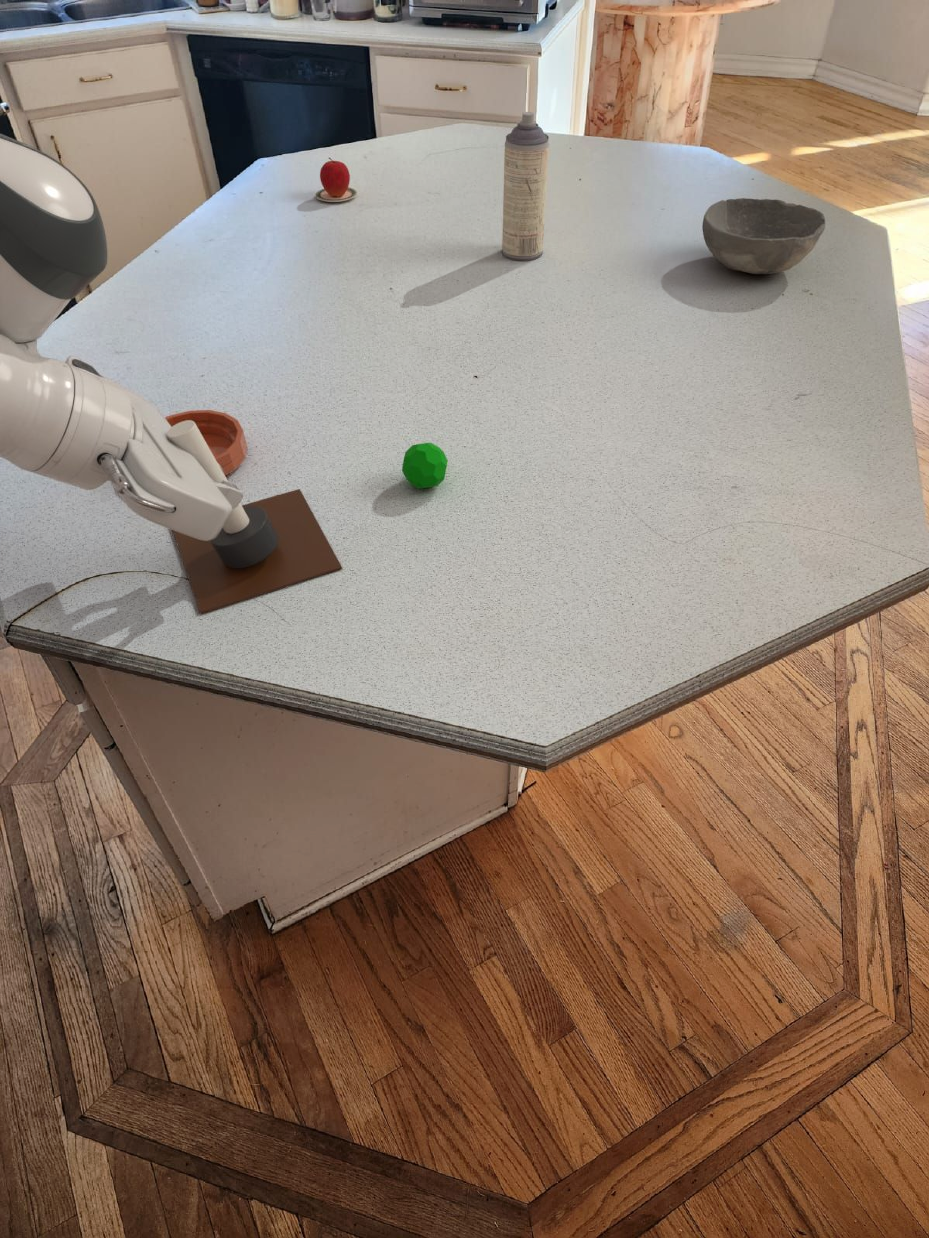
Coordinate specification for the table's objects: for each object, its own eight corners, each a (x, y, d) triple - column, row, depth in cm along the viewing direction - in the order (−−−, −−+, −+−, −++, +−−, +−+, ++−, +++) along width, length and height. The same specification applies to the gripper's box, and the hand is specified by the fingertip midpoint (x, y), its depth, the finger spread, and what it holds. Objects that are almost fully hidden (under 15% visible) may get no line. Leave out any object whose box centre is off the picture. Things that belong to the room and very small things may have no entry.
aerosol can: (551, 253, 127) (560, 113, 112) (522, 264, 124) (528, 123, 109) (521, 241, 130) (527, 104, 116) (493, 252, 127) (495, 113, 113)
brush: (228, 577, 73) (152, 457, 63) (217, 545, 77) (144, 429, 68) (284, 550, 74) (218, 427, 64) (271, 520, 78) (207, 401, 69)
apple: (323, 188, 150) (318, 151, 145) (362, 191, 148) (358, 153, 144) (310, 203, 144) (304, 164, 139) (350, 205, 143) (345, 167, 138)
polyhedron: (455, 476, 85) (454, 440, 81) (437, 501, 82) (435, 465, 78) (415, 466, 86) (412, 430, 83) (395, 490, 83) (392, 454, 80)
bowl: (671, 258, 125) (681, 206, 119) (752, 237, 130) (765, 186, 124) (748, 300, 114) (763, 245, 108) (833, 276, 119) (851, 222, 114)
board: (200, 614, 71) (200, 612, 71) (171, 527, 79) (171, 525, 79) (342, 569, 75) (341, 566, 75) (300, 491, 83) (299, 488, 83)
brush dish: (155, 502, 82) (146, 479, 80) (137, 447, 90) (129, 425, 87) (259, 473, 86) (253, 451, 84) (234, 422, 93) (228, 401, 91)
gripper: (143, 460, 54) (293, 516, 65) (66, 347, 65) (204, 411, 76) (103, 532, 55) (256, 575, 66) (35, 409, 67) (175, 463, 78)
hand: (228, 486), depth 71 cm, fingers closed on brush, 3 cm apart
